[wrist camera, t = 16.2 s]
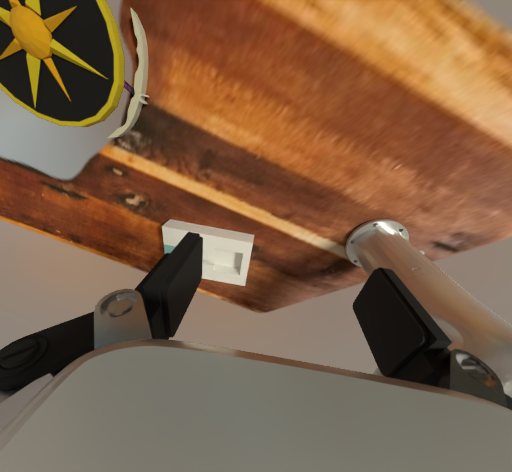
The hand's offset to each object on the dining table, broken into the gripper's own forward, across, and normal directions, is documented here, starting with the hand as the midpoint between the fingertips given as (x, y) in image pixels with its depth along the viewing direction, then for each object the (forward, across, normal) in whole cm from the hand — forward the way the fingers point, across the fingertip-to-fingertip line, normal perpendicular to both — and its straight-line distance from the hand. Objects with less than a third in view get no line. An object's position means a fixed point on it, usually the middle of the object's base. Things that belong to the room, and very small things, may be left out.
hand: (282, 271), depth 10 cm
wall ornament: (+31, +38, -12) cm, 51 cm away
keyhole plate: (+30, +12, +22) cm, 39 cm away
